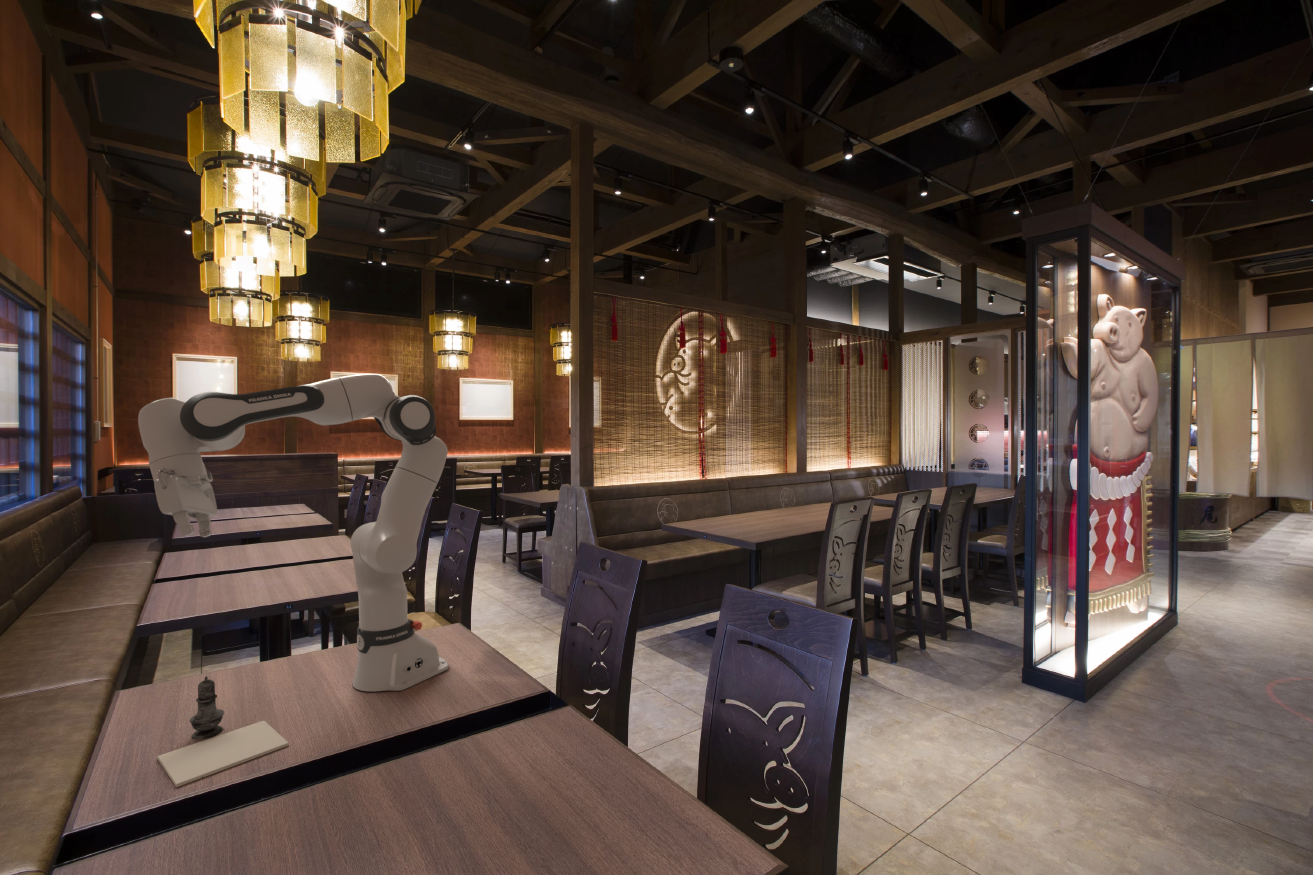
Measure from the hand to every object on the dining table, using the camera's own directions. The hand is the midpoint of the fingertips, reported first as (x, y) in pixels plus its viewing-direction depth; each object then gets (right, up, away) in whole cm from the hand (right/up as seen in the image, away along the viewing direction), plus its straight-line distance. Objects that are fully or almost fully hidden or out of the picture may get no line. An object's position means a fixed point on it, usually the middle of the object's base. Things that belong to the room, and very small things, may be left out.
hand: (197, 535), depth 127 cm
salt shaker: (+3, -41, -1) cm, 41 cm away
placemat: (+11, -41, -8) cm, 44 cm away
